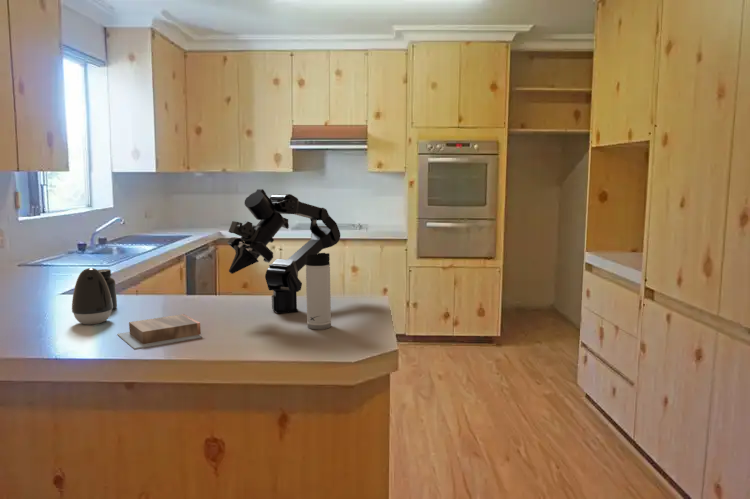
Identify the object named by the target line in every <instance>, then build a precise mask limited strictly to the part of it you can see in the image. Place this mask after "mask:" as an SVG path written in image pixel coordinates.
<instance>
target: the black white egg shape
mask: <svg viewBox="0 0 750 499" xmlns="http://www.w3.org/2000/svg"><path fill="white" fill-rule="evenodd" d="M98 270H99V269H96V268H93V267H92V268H91V267H89V268H85V269H83V270H82V271H81V272H80V273H79V275H78V277H77V279H76V282H75V285H74V290H73V295H72V300H71V302H72V303H71V312H72V313H73V316H74V318H75V320H76V321H77V322H78V323H81V324H82V325H89V326H90V325H93V326H94V325H98V324H99V325H100V324H102V323H104V322H106V321H107V320H108V319H109V318H110V316H111V315H112V312H113V310H112V309H113V303H112V298H111V295H110V291H109V288H108V286H107V283H106V281H105V279H104V277H103V276H102V274H101V273H100V272H99V271H98Z"/></svg>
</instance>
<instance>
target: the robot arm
mask: <svg viewBox="0 0 750 499" xmlns="http://www.w3.org/2000/svg"><path fill="white" fill-rule="evenodd" d="M244 207H246V208H247V209H248V211H249V212H250V214H252V215H253V217H254V218H255V219H256V220H258V221H259V222H258V223H257V224H256V225H253V223H252V222H250V221H247V220H245V221H243V223H242V222H240V221H235V220H233V221H232V222H231V224H230V227H229V229H228V231H227V232H228V233H230V234H233V235H234V234H235V235H236V236H235V237H230V238H229V239H228V241H227V242H226V243H227V244H228V245H229V246H230V247H231V248H232V249H233V250H234V251H235V255H234V258H233V260H232V263H231V265H230V268H229V269H228V272H229V273H230V275H231V274H232V275H233V274H236V273H237V272H239V271H241V270H243V269H245V268H247V267H249V266H251V265H254V264H255V263H259V261H260V260H259V257H262V258H263V262H265V263H270V262H271V261H272V260H273V259H274V252H273V250H272V249H270V248H269V246H267V245H268V244H269V243H273V242H274V241H275V239H274V237H275V235H276V234H277V233H278V232H279V231H280V230H281V228H284V229H287V230H288V229H289V228H290V225H289V218H286V217H283V215H295V216H299V217H302V218H306V219H307V218H308V219H310V226H309V230H310V232H311V234H310V239H309V240H308V241H307V242H306V243H304V244H303V245H302V246H300V248H299V249H298V250H296V251H295V252H294V253H293V254H292V255H291V256H289V257H288V258H286V259H284V258H277V259H275V260H274V261H273V263H271V264H268V266H269V267H268V268H267V269H266V271H265V275H264V278H265V281H266V284H267V288H268V290H269V291H273V295H271V309H272V310H273V311H274V312H275V313H276V314H287V313H297V312H299V309H298V305H297V302H298V301H297V300H298V299H297V297H298V296H297V293H298V292H300V291H301V290H302V286H303V282H302V281H301V280H300V278H299V272H300V270H302V269H303V268H304V267H306V255H309V254H311V255H315V254H318V253H321V251H322V250H324V249H325V250H326V249H329V248H331V247H333V246H335V245H337V244H338V243H339V241H340V240H341V231H340V229H339V226H338V223H337V222H336V221H335V220H334V219H333V218H332V217H331V216H330V214H329V212H328V210H327V208H324V207H319V206H316V205H312V204H309V203H307V202H305V203H304V202H301V201H299V198H298V197H296V196H295V195H293V194H291V193H290V194H289V193H287V194H285V193H278V194H277V193H273V194H271V196H268V194H267V193H266V191H265V190H264V188H260V189H256V190H255V192H252V193H251V194H249V195H248V196H247V197H245V200H244ZM317 221H321V222H322V223H323V224H324V225H318V223H317ZM237 236H240V237H237Z"/></svg>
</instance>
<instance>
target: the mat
mask: <svg viewBox="0 0 750 499" xmlns="http://www.w3.org/2000/svg"><path fill="white" fill-rule="evenodd" d="M116 336H118V337H119V338H120V339H122V340H123V341H124V343H126V344H127V345H129V346H130V348H133V350H139V349H143V348H144V349H145V348H150V347H156V346H161V345H167V344H172V343H173V344H174V343H178V342H185V341H191V340H197V339H201V338H203V336H202V335H201V334H200V335H194V336H188V337H182V338H177V339H171V340H165V341H159V342H153V343H147V344H142V343H141V342H140V341H138V340H137V339H136V338H135V337H133V336H132V335H131V334H130V331H126V332H120V333H117V335H116Z"/></svg>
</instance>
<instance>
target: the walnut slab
mask: <svg viewBox="0 0 750 499" xmlns="http://www.w3.org/2000/svg"><path fill="white" fill-rule="evenodd" d="M128 327H129V328H128V329H129V332H130V334H131V335H132V336H133V337H135V338H136V339H137V340H138V341H140V342H141V343H142V344H147V343H153V342H159V341H165V340H171V339H177V338H182V337H188V336H194V335H200V336H201V335H202V334H201V322H200V321H198V320H196V319H195V318H194V319H193V318H192V317H191V316H188V315H187V314H185V313H182V314H175V315H169V316H163V317H156V318H155V317H154V318H149V319H141V320H134V321H130V322H128Z"/></svg>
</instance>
